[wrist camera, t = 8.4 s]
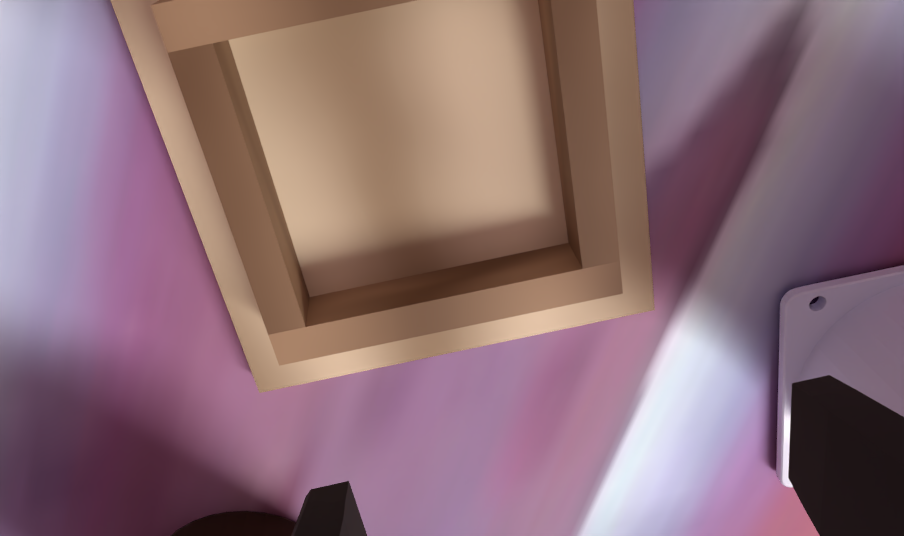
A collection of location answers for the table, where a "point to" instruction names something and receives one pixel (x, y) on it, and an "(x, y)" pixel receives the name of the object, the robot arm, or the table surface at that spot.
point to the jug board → (402, 169)
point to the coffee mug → (238, 525)
